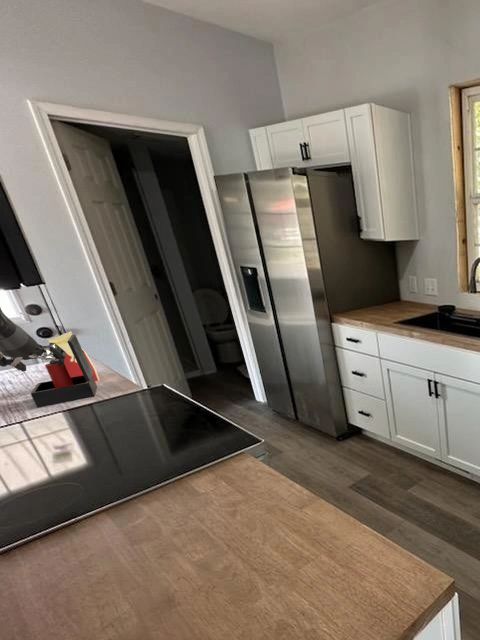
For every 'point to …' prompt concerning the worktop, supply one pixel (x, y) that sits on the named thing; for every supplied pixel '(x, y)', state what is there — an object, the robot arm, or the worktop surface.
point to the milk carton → (72, 356)
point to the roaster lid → (80, 357)
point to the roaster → (63, 391)
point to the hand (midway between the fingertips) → (43, 366)
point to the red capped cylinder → (59, 375)
